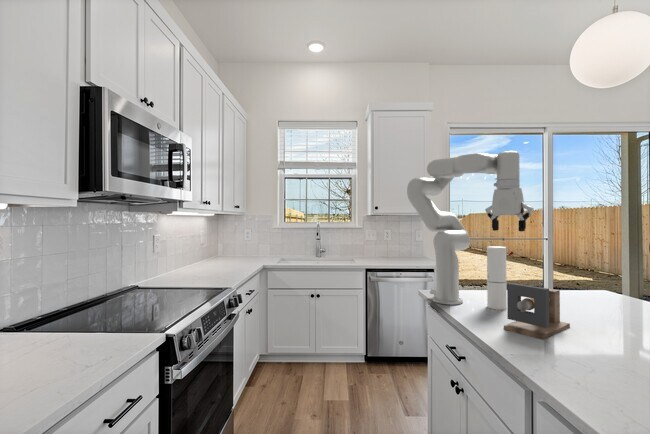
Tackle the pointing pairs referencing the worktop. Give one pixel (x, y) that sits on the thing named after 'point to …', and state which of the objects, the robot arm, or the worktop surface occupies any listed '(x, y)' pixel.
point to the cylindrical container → (496, 278)
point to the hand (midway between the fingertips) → (508, 230)
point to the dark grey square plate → (540, 304)
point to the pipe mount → (538, 331)
